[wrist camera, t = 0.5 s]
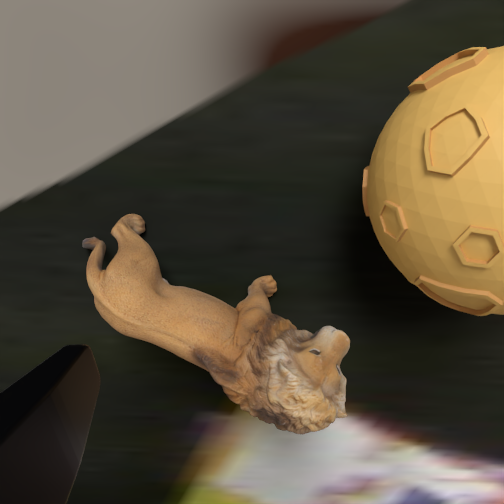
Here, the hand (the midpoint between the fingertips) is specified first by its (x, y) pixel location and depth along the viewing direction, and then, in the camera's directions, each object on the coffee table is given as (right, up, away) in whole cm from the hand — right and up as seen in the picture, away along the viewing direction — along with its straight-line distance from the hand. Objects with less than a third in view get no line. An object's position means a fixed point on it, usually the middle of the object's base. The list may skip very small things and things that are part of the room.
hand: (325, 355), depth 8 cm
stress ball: (+9, +6, +13) cm, 17 cm away
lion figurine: (-3, +1, +17) cm, 17 cm away
